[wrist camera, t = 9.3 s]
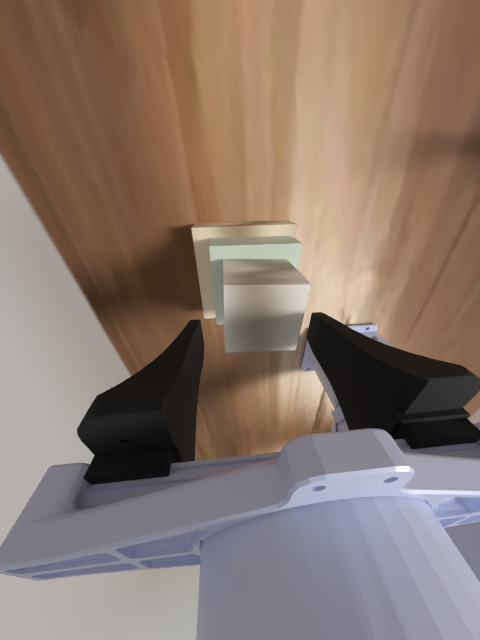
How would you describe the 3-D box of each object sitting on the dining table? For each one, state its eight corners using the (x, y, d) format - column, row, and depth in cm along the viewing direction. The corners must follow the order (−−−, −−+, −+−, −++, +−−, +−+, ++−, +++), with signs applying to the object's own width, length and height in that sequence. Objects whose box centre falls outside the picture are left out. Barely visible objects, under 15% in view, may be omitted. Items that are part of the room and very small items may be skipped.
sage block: (290, 235, 17) (302, 243, 15) (282, 305, 21) (290, 320, 19) (210, 238, 17) (209, 246, 14) (217, 308, 21) (216, 324, 18)
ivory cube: (286, 258, 15) (311, 284, 11) (278, 313, 18) (295, 350, 14) (222, 258, 15) (223, 285, 11) (224, 314, 18) (225, 352, 14)
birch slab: (287, 219, 19) (297, 224, 17) (279, 300, 24) (285, 313, 22) (195, 223, 19) (191, 227, 16) (206, 305, 24) (204, 318, 21)
